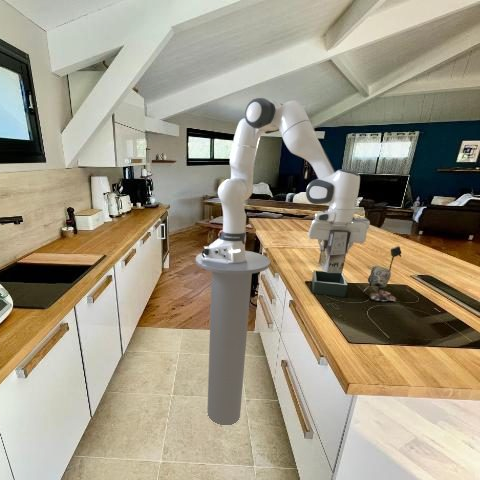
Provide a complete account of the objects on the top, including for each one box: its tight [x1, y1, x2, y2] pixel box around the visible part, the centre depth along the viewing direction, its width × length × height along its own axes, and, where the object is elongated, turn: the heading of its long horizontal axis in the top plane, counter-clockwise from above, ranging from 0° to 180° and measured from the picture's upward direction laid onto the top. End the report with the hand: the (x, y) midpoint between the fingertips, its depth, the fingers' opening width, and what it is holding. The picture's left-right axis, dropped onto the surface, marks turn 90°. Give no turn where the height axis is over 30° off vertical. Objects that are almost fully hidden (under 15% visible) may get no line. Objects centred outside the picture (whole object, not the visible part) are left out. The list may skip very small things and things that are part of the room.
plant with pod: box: [362, 245, 402, 302], centre depth 115 cm, size 8×11×20 cm
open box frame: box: [311, 269, 348, 298], centre depth 126 cm, size 12×15×5 cm
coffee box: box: [317, 230, 351, 273], centre depth 121 cm, size 9×6×16 cm
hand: (333, 251), depth 122 cm, fingers closed on coffee box, 7 cm apart
